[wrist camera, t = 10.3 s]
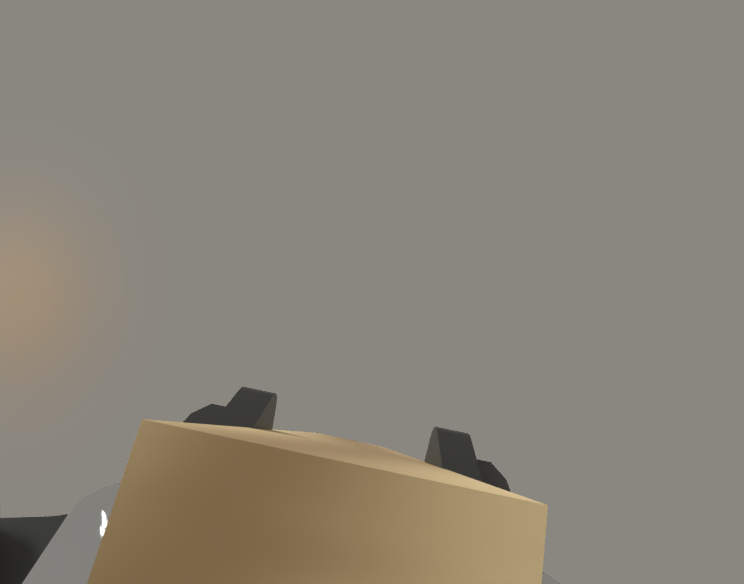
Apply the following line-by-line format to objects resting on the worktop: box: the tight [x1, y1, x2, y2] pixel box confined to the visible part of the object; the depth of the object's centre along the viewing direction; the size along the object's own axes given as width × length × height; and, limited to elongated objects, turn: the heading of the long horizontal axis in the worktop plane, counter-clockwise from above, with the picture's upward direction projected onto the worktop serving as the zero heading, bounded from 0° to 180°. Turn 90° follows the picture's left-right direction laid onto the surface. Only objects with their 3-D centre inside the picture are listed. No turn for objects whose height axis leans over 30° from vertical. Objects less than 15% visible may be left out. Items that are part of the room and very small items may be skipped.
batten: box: [87, 419, 548, 584], centre depth 14 cm, size 4×22×3 cm, turn 3°
